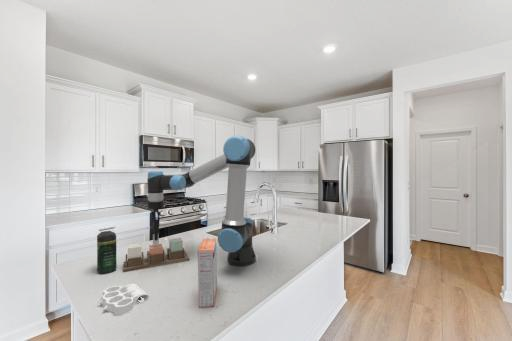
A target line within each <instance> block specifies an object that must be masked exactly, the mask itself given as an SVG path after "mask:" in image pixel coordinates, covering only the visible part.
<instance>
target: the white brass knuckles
mask: <svg viewBox="0 0 512 341" xmlns="http://www.w3.org/2000/svg"><path fill="white" fill-rule="evenodd" d="M139 297H142V298H144V300H145V301H147V300H148V299H149V294H148V293H147V292H145V291H144V289H143V288H141V287H139V285H138V284H136V283H130V284H127V285H124V286H123V285H121V286H120V285H111V286H109V287H107V288H105V289H104V290H103V291H102V299H101V300H100V301H99V302H97V304H100V305H102V311H105V312H108V311H112V312H111V313H113V312H114V313H113V314H114V315H115V316H122V314H124V315H126V314H125V313H127V314H128V312H129V311H130V312H132V311H133V309H134V307H135V306H136V305H138V304H141V303H140V302H139V301H138V300H137V299H140V298H139ZM137 303H138V304H137ZM130 312H129V313H130Z"/></svg>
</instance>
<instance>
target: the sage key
mask: <svg viewBox="0 0 512 341" xmlns="http://www.w3.org/2000/svg"><path fill="white" fill-rule="evenodd" d="M183 241H184V240H183V239H182V238H181V237H178V238H169V240H168V243H169V246H168V248H169V250H170V252H175V251H181V250H183V248H184V247H183V246H184V245H183V244H184V243H183Z"/></svg>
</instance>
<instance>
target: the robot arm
mask: <svg viewBox="0 0 512 341" xmlns="http://www.w3.org/2000/svg"><path fill="white" fill-rule="evenodd" d="M222 152H223V154H221V155H219V156H217V157H215V158H213V159H211V160H209V161H207V162H205V163H203V164H202V165H199V166H197V167H195V168H193V169H192V170H190V171H188V172H185V173H182V174H168V175H167V174H164V172H163V171H161V170H154V171H153V170H151V171H148V172H147V180H146V181H147V194H145V197H147V209H148V210H152V211H151V212H150V214H151V220H152V233H151V235H152V245H153V247H154V246H159V244H160V237H159V234H160V232H161V231H160V220H161V218H160V217H161V212H160V210H161V209H163V208H164V201H163V200H164V190H166V191H167V190H168V191H171V190H172V191H182V190H184V189H185V188H191V187H193V186H195V184H197V183H199V182H201V181H204V180H205V179H207V178H209V177H211V176H213V175H215V174H218V173H220V172H221V171H223V170H226V169H228V175H227V185H226V186H227V190H226V203H225V204H226V205H225V218H224V219H222V221H221V229H220V231H219V233H218V235H217V244H218V246H219V247H220V249H222V250H223V251H224V252H227V253H228V254H227V256H226V257H227V263H228V264H229V265H232V266H236V267H237V266H238V267H245V266H249V265H252V264H254V263H256V258H257V257H256V254H255V253H256V252H255V251H254V248H253V225H254V224H253V219H252V218H251V217H246V216H245V215H244V213H245V201H246V200H245V199H246V184H247V173H248V172H247V170H248V169H249V168H250V166H251V160H252V159H253V158H254V157H255V154H256V146H255V143H254V142H253V141H252V140H250V139H249V138H247V137H245V136H241V135H233V136H231V137H229V138H227V139H226V140H225V142H224V144H223V151H222ZM244 216H245V217H244Z"/></svg>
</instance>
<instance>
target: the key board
mask: <svg viewBox="0 0 512 341" xmlns="http://www.w3.org/2000/svg"><path fill="white" fill-rule="evenodd" d="M166 250H167V251H166V252H167V253H166V252H165V249H164V248H163V253H162V254H156V255H149V250H147V252H146V255H147V256H146V257H145V258H144V251H141V257H137V258H130V259H128V253H126V254H125V261H123V263H122V264H123V266H122V272H123V273H126V272H133V271H138V270H144V269H149V268H155V267H161V266H166V265H172V264H177V263H182V262H188V261H190V256H189V255H188V253H187V252H186V250H185V248H184V247H183V250H181V251H175V252H170V250H169V247H167V248H166Z"/></svg>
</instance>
